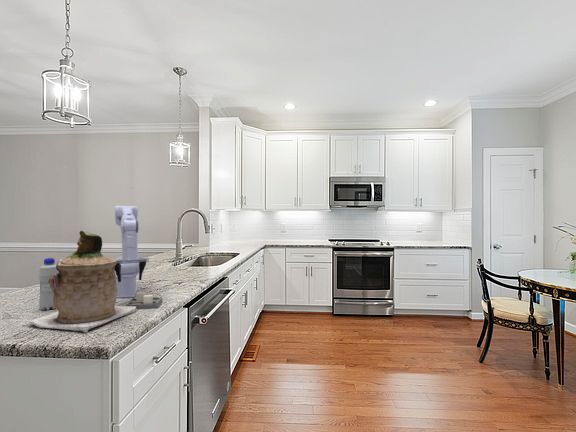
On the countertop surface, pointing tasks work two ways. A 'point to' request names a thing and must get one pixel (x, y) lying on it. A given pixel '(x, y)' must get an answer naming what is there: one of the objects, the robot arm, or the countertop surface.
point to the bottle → (46, 283)
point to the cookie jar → (84, 289)
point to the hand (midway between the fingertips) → (129, 281)
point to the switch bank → (140, 305)
